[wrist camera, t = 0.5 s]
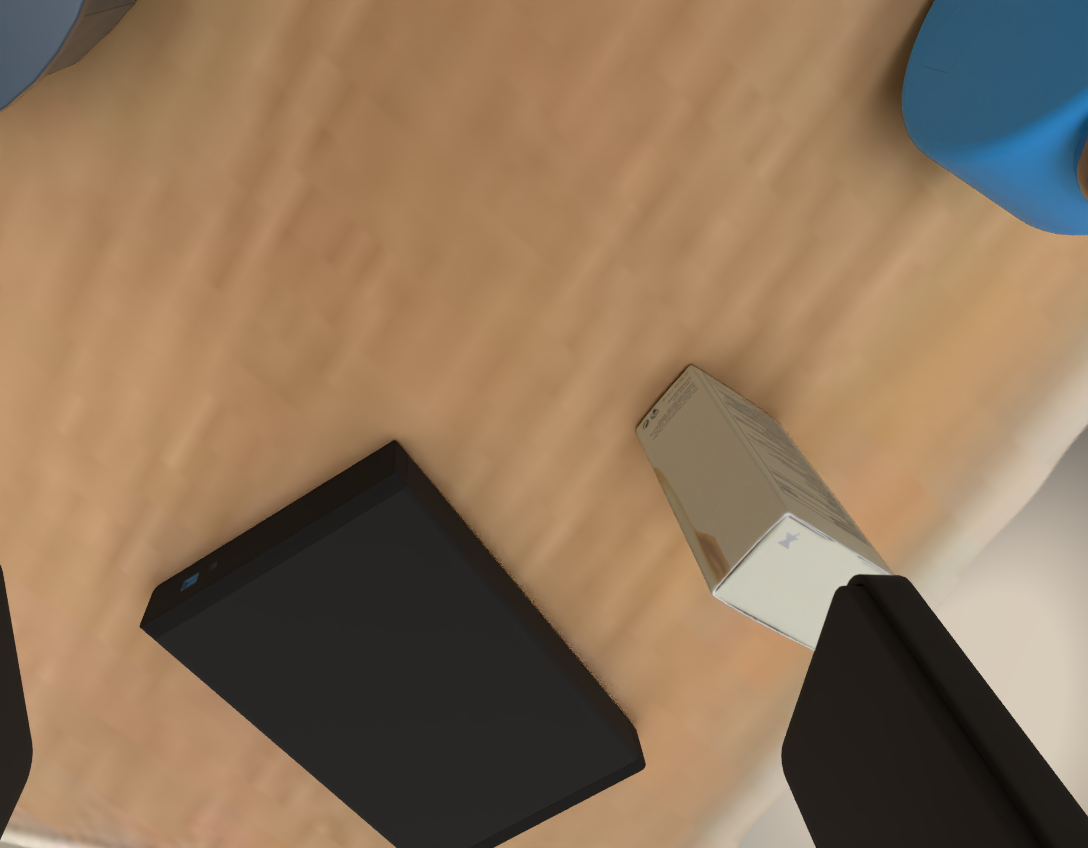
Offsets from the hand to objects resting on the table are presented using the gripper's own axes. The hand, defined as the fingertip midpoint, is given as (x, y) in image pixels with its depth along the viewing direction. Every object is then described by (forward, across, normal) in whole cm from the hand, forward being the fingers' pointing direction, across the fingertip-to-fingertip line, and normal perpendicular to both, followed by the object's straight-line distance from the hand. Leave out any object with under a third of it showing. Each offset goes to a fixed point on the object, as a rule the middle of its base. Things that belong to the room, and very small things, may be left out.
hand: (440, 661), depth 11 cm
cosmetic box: (+30, -14, +12) cm, 35 cm away
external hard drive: (+30, -1, +27) cm, 40 cm away
